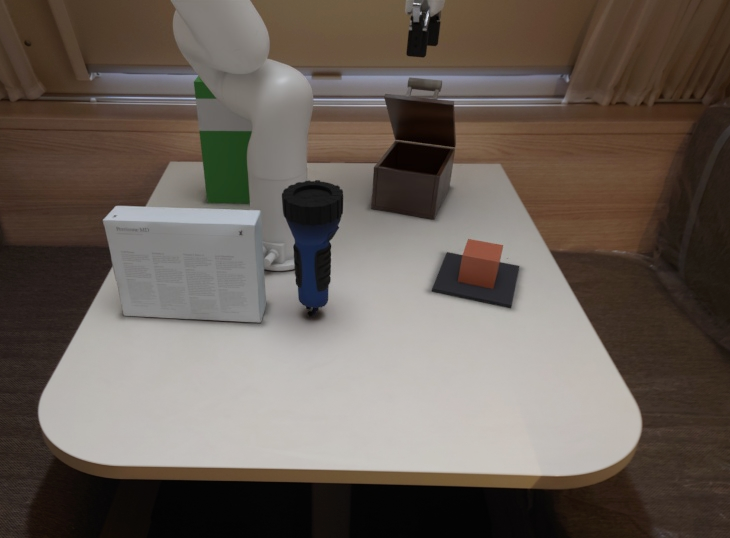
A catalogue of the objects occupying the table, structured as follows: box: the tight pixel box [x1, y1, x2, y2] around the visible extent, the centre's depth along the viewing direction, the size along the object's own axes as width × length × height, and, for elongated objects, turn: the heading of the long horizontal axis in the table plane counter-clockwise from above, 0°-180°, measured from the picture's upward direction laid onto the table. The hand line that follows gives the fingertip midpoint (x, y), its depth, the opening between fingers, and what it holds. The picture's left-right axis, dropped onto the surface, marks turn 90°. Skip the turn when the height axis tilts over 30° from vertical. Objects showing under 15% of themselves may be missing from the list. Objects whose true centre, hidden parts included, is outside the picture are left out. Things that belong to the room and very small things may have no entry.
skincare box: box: [102, 205, 267, 323], centre depth 83 cm, size 21×5×16 cm, turn 84°
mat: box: [431, 251, 520, 309], centre depth 93 cm, size 12×12×1 cm
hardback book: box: [193, 75, 252, 204], centre depth 113 cm, size 18×7×24 cm, turn 87°
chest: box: [370, 140, 456, 220], centre depth 116 cm, size 16×13×9 cm
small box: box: [458, 238, 504, 289], centre depth 91 cm, size 6×6×5 cm
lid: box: [383, 77, 457, 149], centre depth 112 cm, size 16×13×6 cm
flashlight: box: [282, 179, 344, 318], centre depth 80 cm, size 8×8×20 cm
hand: (422, 50), depth 99 cm, fingers open, 9 cm apart
